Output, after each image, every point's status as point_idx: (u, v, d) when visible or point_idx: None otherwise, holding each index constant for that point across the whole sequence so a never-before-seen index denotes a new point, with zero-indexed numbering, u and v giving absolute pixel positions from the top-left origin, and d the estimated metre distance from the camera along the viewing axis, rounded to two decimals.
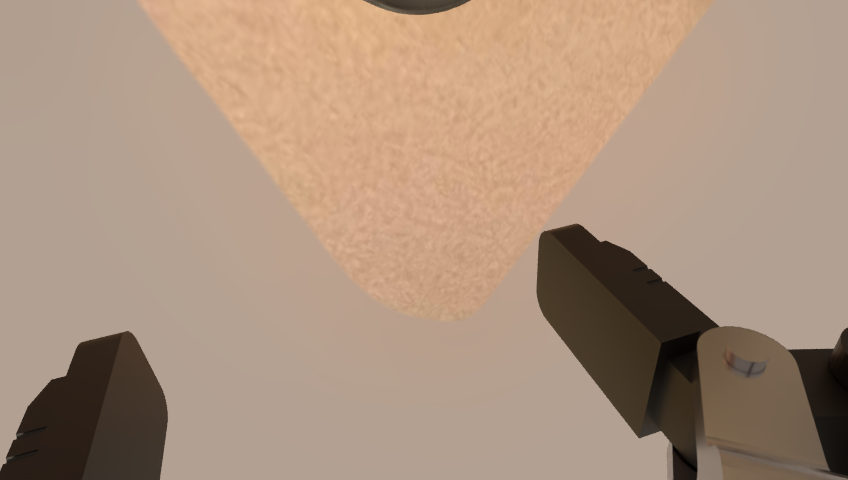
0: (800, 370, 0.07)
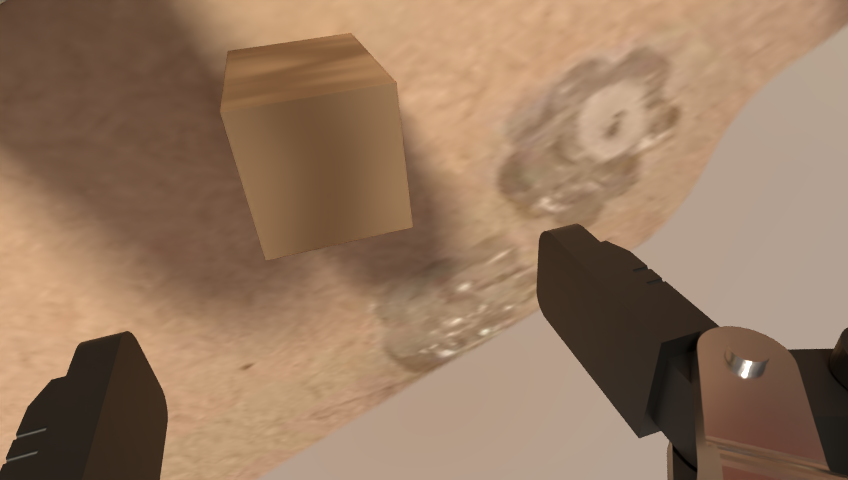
0: (800, 370, 0.07)
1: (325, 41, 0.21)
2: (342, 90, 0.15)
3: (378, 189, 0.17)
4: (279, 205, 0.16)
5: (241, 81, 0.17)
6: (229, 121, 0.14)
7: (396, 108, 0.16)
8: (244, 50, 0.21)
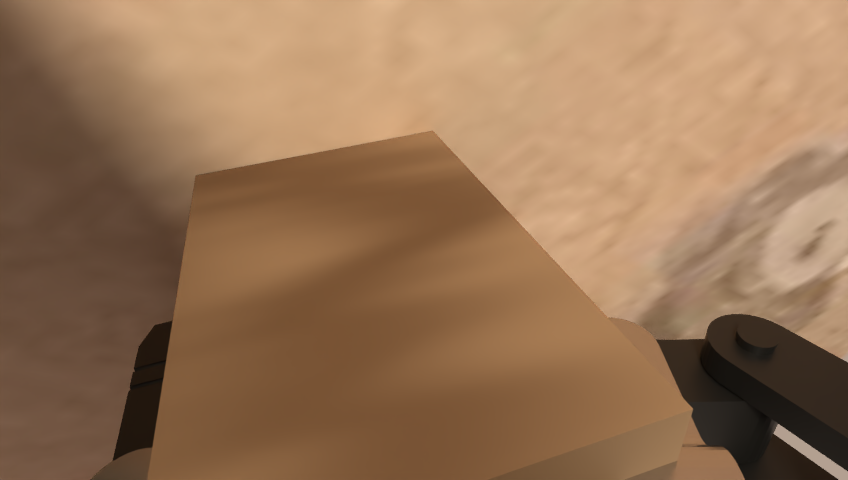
0: (672, 359, 0.08)
1: (390, 156, 0.10)
2: (535, 451, 0.05)
3: None
4: None
5: (217, 331, 0.06)
6: None
7: (670, 460, 0.05)
8: (229, 175, 0.10)
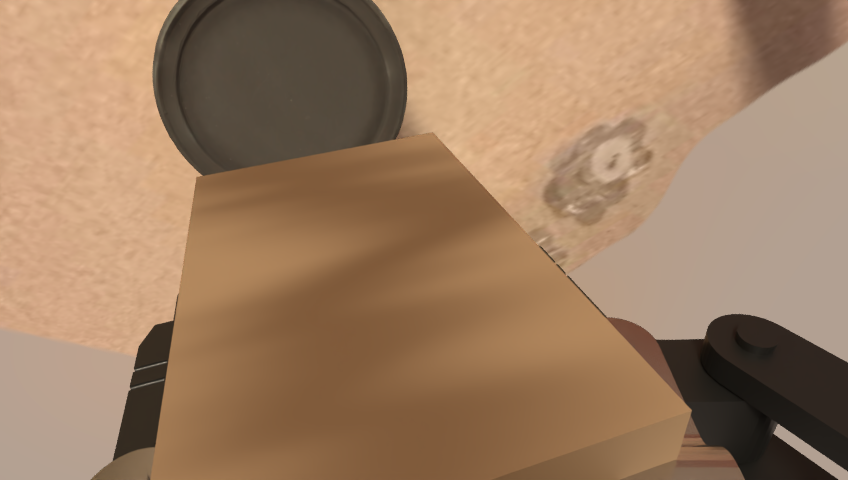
0: (672, 359, 0.08)
1: (391, 158, 0.10)
2: (536, 453, 0.05)
3: None
4: None
5: (218, 332, 0.06)
6: None
7: (669, 461, 0.05)
8: (230, 177, 0.10)
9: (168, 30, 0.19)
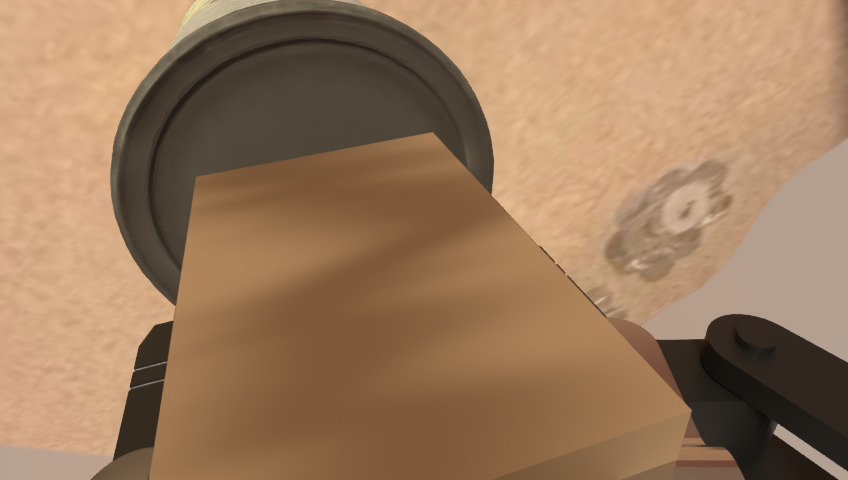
0: (672, 359, 0.08)
1: (391, 158, 0.10)
2: (535, 453, 0.05)
3: None
4: None
5: (218, 333, 0.06)
6: None
7: (669, 461, 0.05)
8: (229, 177, 0.10)
9: (133, 120, 0.12)
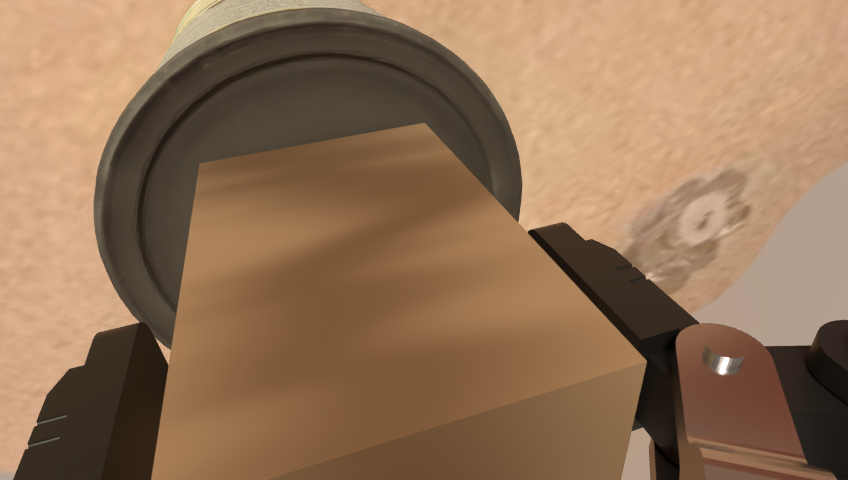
0: (778, 366, 0.07)
1: (384, 146, 0.11)
2: (505, 396, 0.05)
3: None
4: None
5: (221, 299, 0.07)
6: None
7: (629, 410, 0.06)
8: (231, 163, 0.11)
9: (119, 147, 0.10)
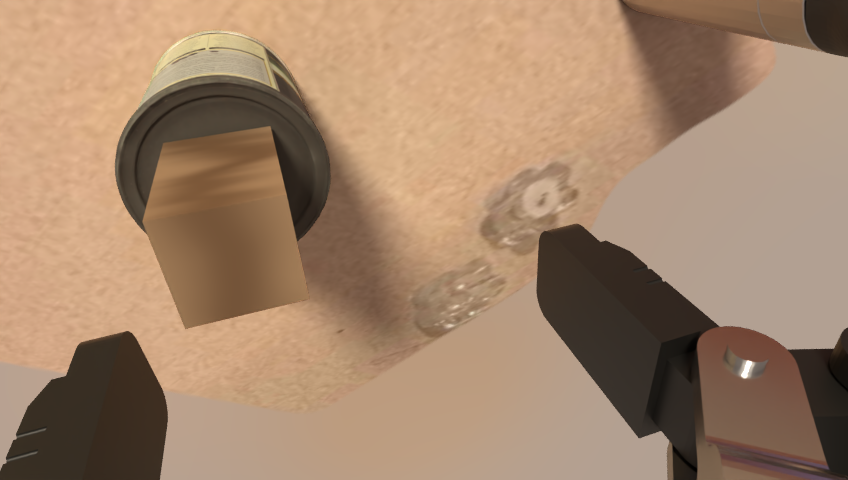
0: (800, 370, 0.07)
1: (246, 136, 0.25)
2: (242, 201, 0.19)
3: (277, 271, 0.21)
4: (195, 287, 0.20)
5: (166, 184, 0.21)
6: (150, 228, 0.18)
7: (288, 212, 0.20)
8: (177, 143, 0.25)
9: (127, 135, 0.24)
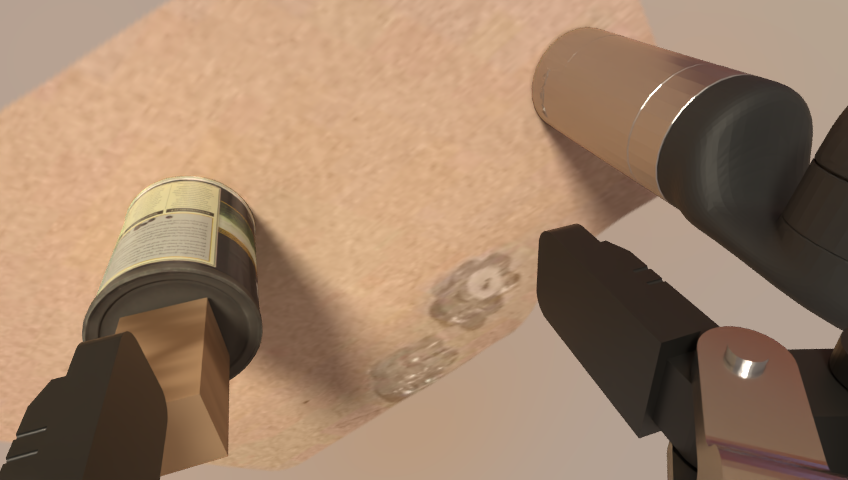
0: (800, 370, 0.07)
1: (185, 311, 0.31)
2: None
3: (199, 442, 0.27)
4: None
5: None
6: None
7: (202, 404, 0.26)
8: (130, 318, 0.31)
9: (90, 315, 0.30)
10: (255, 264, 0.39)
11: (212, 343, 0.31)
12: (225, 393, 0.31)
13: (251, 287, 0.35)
